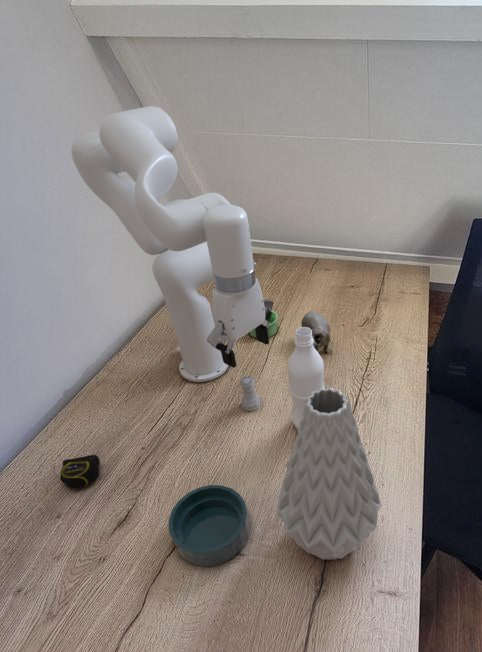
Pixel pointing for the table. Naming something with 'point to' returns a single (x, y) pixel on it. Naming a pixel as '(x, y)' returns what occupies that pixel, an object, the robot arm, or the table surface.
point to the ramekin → (271, 328)
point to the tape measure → (80, 471)
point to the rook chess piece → (249, 394)
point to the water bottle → (304, 372)
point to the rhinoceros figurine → (317, 329)
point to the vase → (328, 481)
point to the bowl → (209, 525)
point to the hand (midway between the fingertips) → (247, 353)
